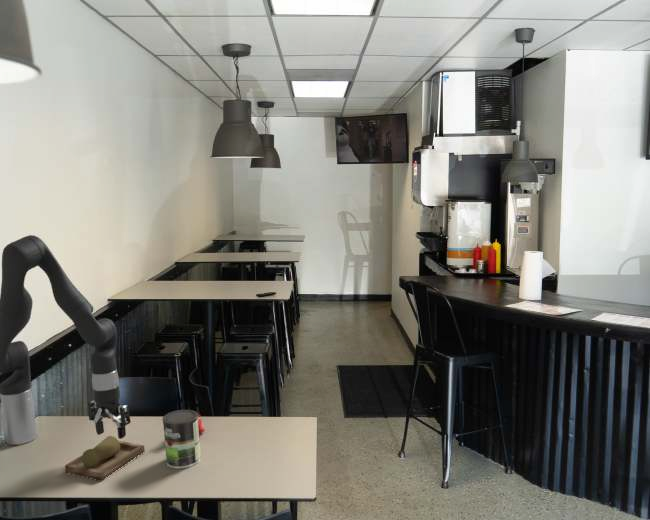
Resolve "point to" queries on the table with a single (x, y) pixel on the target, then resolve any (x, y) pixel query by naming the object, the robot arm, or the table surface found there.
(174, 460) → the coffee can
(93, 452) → the cork
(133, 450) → the walnut tray
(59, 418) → the table surface
